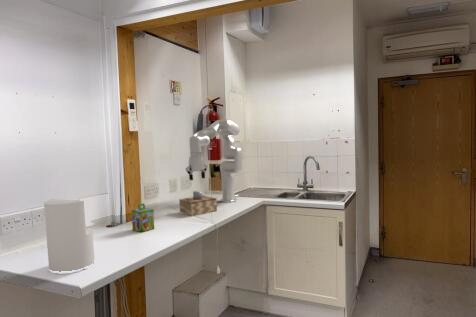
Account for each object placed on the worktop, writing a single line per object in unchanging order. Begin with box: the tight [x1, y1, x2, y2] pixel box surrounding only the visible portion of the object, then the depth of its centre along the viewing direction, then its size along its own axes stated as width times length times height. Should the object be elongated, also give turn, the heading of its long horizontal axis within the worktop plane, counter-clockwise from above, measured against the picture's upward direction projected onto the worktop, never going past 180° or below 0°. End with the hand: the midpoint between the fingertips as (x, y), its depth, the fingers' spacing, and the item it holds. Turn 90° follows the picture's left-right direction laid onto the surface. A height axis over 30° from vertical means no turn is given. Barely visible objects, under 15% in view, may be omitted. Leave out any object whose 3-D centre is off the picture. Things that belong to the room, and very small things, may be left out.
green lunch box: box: [130, 203, 155, 233], centre depth 199 cm, size 9×9×15 cm
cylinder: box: [43, 199, 96, 272], centre depth 145 cm, size 17×17×28 cm
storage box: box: [178, 199, 218, 217], centre depth 241 cm, size 20×16×8 cm
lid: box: [178, 194, 217, 204], centre depth 241 cm, size 20×16×1 cm
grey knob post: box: [192, 190, 203, 200], centre depth 240 cm, size 6×6×5 cm
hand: (197, 179), depth 240 cm, fingers open, 9 cm apart
